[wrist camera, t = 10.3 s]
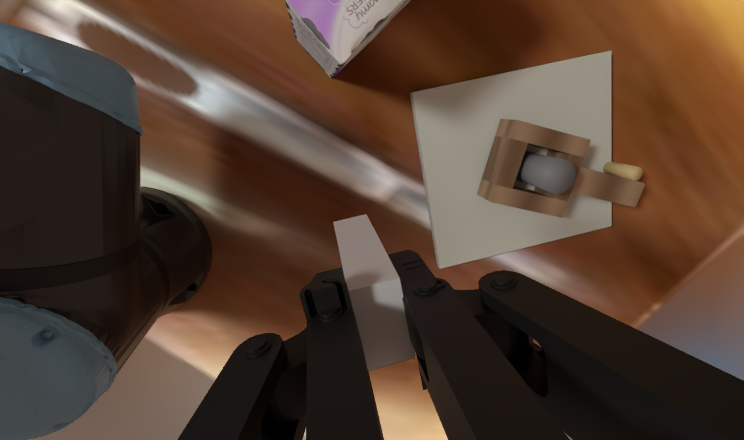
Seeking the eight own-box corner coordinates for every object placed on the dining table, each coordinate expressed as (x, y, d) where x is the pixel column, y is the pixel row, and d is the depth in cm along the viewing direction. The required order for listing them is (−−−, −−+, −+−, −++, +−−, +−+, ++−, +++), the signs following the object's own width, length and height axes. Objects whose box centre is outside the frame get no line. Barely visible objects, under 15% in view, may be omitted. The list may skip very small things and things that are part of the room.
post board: (437, 265, 50) (461, 297, 42) (409, 92, 44) (432, 89, 35) (607, 222, 52) (665, 245, 44) (607, 51, 45) (675, 38, 37)
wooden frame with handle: (476, 194, 47) (490, 202, 43) (500, 118, 44) (517, 120, 41) (601, 222, 50) (625, 231, 46) (629, 153, 48) (656, 157, 44)
